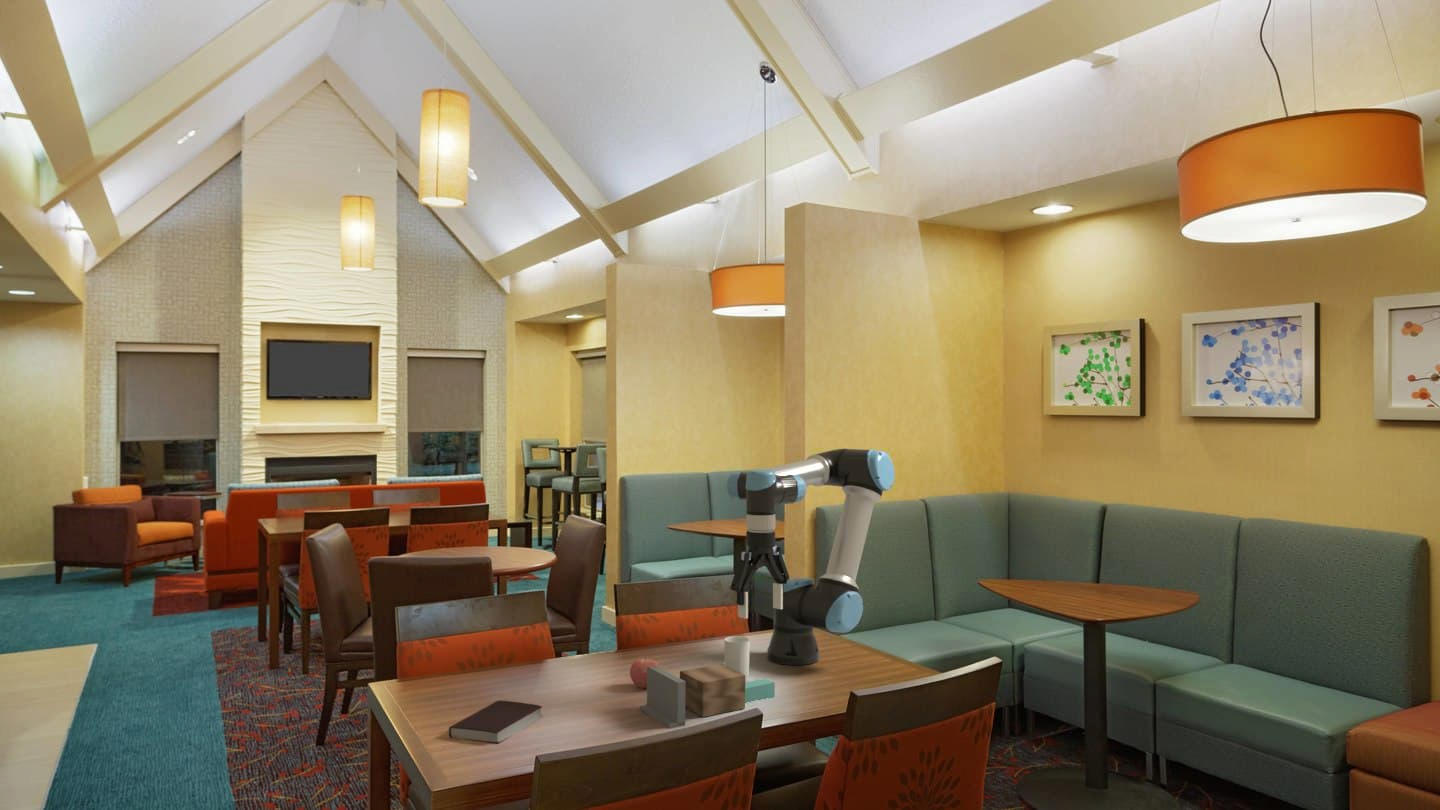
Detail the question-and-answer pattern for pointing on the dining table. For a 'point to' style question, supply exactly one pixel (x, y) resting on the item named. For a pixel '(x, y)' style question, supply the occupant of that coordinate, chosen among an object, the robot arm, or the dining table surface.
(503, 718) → the book
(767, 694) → the teal bar
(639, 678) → the apple
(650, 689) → the wall
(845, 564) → the robot arm
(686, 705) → the block
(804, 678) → the dining table surface
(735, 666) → the mug
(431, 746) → the dining table surface
